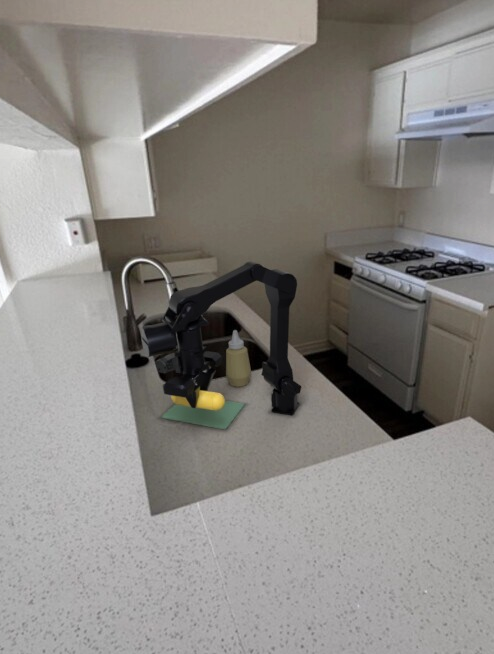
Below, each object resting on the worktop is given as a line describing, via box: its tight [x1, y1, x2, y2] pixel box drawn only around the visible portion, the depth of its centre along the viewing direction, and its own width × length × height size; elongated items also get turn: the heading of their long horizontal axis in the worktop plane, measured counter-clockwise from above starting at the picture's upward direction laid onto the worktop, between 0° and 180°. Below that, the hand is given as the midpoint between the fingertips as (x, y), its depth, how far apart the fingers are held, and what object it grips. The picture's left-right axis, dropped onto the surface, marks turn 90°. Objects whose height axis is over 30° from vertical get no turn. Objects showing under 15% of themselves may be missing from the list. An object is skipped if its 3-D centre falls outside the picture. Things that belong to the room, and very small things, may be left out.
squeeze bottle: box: [225, 329, 252, 388], centre depth 131 cm, size 8×8×18 cm
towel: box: [161, 400, 246, 431], centre depth 120 cm, size 20×13×1 cm, turn 70°
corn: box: [170, 390, 226, 411], centre depth 103 cm, size 14×4×4 cm, turn 71°
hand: (198, 402), depth 104 cm, fingers closed on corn, 4 cm apart
